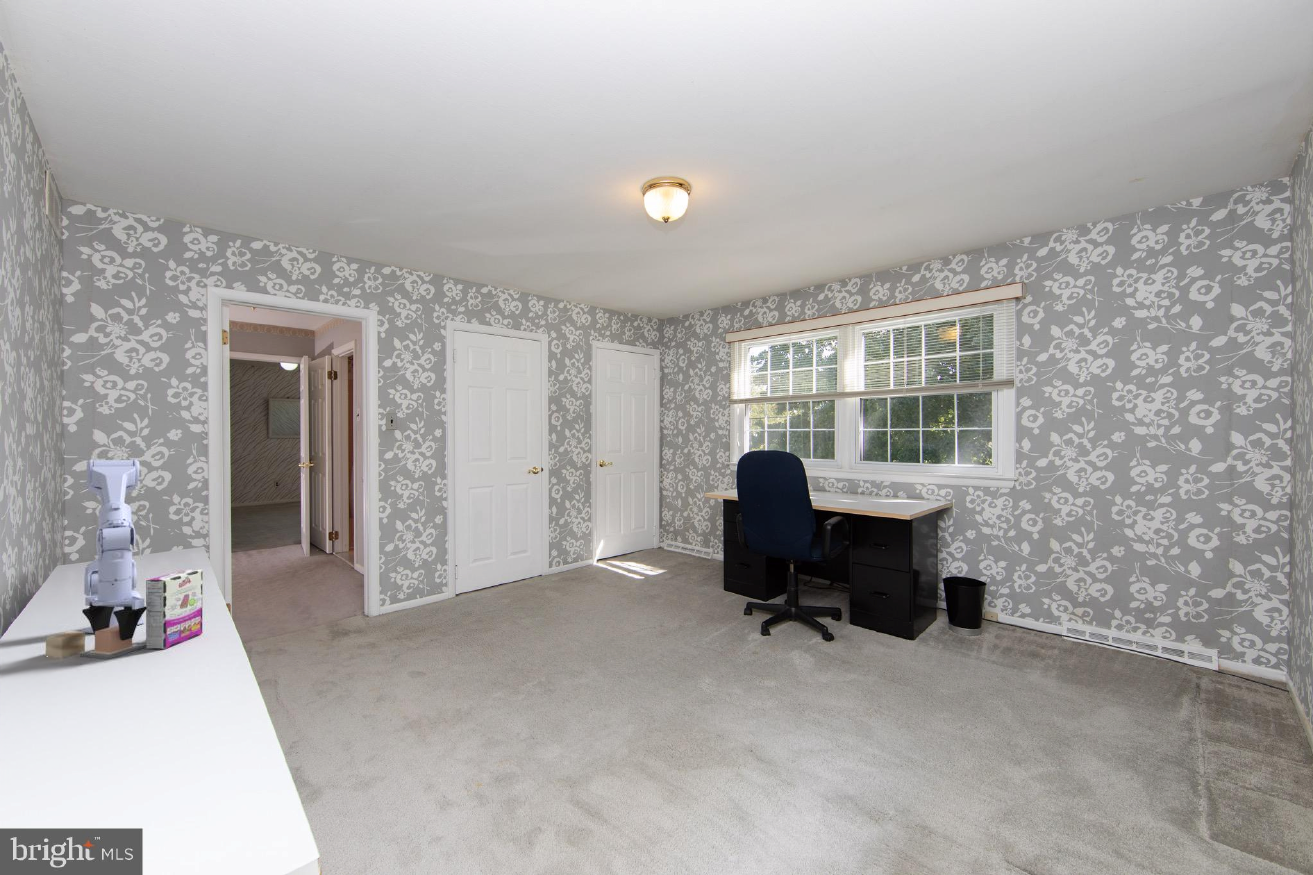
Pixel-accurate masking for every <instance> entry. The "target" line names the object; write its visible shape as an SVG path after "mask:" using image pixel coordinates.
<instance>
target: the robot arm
mask: <svg viewBox="0 0 1313 875" xmlns="http://www.w3.org/2000/svg"><path fill="white" fill-rule="evenodd" d="M139 481H140V461H139V460H138V459H136V458H135V459H108V460H107V459H105V460H104V459H102V460H100V459H96V460H95V459H89V460H88V461H86V489H88V492H90V493H93V494H96V495H98V498H99V500H100V507H99V509H98V530H97V531H96V538H95V539H96V540H95V550H96V554H97V558H96V559H95V560H93V561H91V562H89V563H88V564H87V565H86V567H85V572H84V577H83V578H84V580H83V581H84V582H83V583H84V584H83V585H84V586H83V587H84V588H83V590H84V591H83V592H84V594H83V595H85V596H86V597H85V602H84V603H85V606H86V607H88V608H84V609H81V611H82V614H83V615H84V616H85V618H86V619H87V620H88V622H89V624H90V627H88V628H85V629H81V630H80V632H85V634H87V633H89V634H93V635H94V636H95V631H99V630H102V629H106V628H109V627H113V626H117V625H118V626H119V635H120V639H121V640H122V641H124V640H127V639H131V638H132V639H133V637H134V635H135V633H136V629H137V627H138V625H143V624H145V621H143V614H144V613H146V605H145V598H142V595H141V594H140V592H139V591H138V590H135V589H136V588H137V583H138V580H137V579H138V574H137V562H135V560H134V559H133V551H134V549H135V547H136V530H135V526H134V523H133V519H132V518H133V517H132V507H131V506H130V505H129V504H127V503H126V502H125V500H126V495H127V493H129V492H132V491H135V490H136V488H137V487H138V483H139ZM131 546H132V550H131Z"/></svg>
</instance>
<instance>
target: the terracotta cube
mask: <svg viewBox="0 0 1313 875" xmlns="http://www.w3.org/2000/svg"><path fill="white" fill-rule="evenodd" d="M132 643H133V638H131V639H127V640H124V641H122V640H121V639H120V635H119V626H118V625H117V626H113V627H109V628H106V629H102V630H99V631H95V635H94V649H95V651H97V652H108V653H111V652H114V651H117V650H121V649H124V648H127V647H130V646H132Z"/></svg>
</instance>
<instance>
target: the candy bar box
mask: <svg viewBox="0 0 1313 875" xmlns="http://www.w3.org/2000/svg"><path fill="white" fill-rule="evenodd" d="M145 581H146V582H145V593H146V594H145V606H146V610H145V613H146V614H145V627H146V629H145V644H146V647H145V649H147V650H167V649H169V648H172V647H174V646H176V645H178V644H181V643H184V642H186V641H188V639H189V640H191V639H194V638H196V637H199V636H200V635H202V634H203V569H183V570H179V571H175V572H172V573H168V574H164V575H160V576H158V577H153V578H150V579H146V580H145ZM195 636H196V637H195Z"/></svg>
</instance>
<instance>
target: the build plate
mask: <svg viewBox="0 0 1313 875" xmlns="http://www.w3.org/2000/svg"><path fill="white" fill-rule="evenodd" d="M143 648H144V649H145V648H146V643H137V642H132V646H130V647H127V648H124V649H121V650H117V651H114V652H111V653H108V652H97V651H95V648H94V649H91V650H88V651H85V652H81V653H79V657H82V658H83V657H84V658H93V659H101V660H103V659H104V660H110V659H113V658H116V657H120V656H122V655H125V654H128V653H132V652H135V651H138V650H141V649H143Z"/></svg>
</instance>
